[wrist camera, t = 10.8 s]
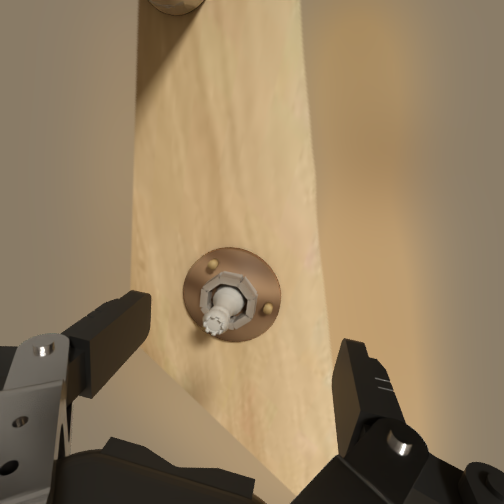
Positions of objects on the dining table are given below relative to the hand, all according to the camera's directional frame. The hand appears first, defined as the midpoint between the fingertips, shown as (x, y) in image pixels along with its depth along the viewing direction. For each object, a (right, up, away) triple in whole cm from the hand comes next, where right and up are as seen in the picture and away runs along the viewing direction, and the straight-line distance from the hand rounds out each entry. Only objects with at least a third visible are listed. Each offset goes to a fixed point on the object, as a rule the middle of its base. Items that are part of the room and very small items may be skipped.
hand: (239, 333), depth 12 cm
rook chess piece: (-2, -3, +30) cm, 30 cm away
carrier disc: (-2, -3, +31) cm, 31 cm away
